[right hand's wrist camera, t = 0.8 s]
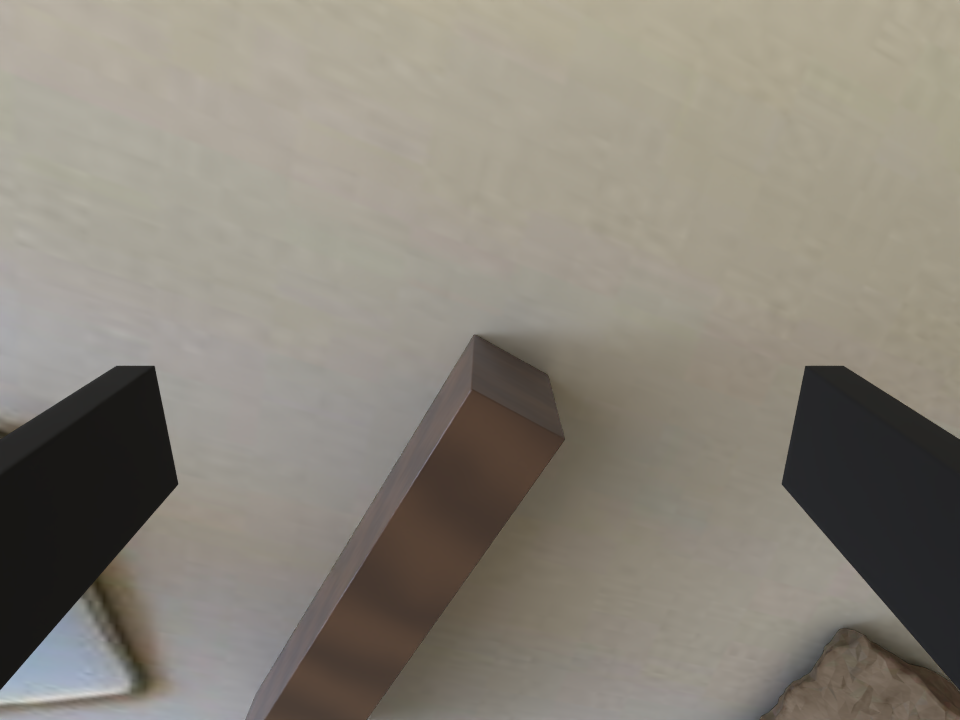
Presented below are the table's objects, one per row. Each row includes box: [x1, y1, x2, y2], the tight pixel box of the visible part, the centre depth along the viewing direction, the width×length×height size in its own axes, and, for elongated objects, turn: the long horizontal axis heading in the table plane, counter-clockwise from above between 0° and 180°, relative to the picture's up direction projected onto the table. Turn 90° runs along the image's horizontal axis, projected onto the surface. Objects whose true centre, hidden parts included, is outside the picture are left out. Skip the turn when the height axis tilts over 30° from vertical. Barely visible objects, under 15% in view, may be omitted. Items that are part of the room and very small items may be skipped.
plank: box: [245, 335, 565, 720], centre depth 36 cm, size 32×5×8 cm, turn 150°
